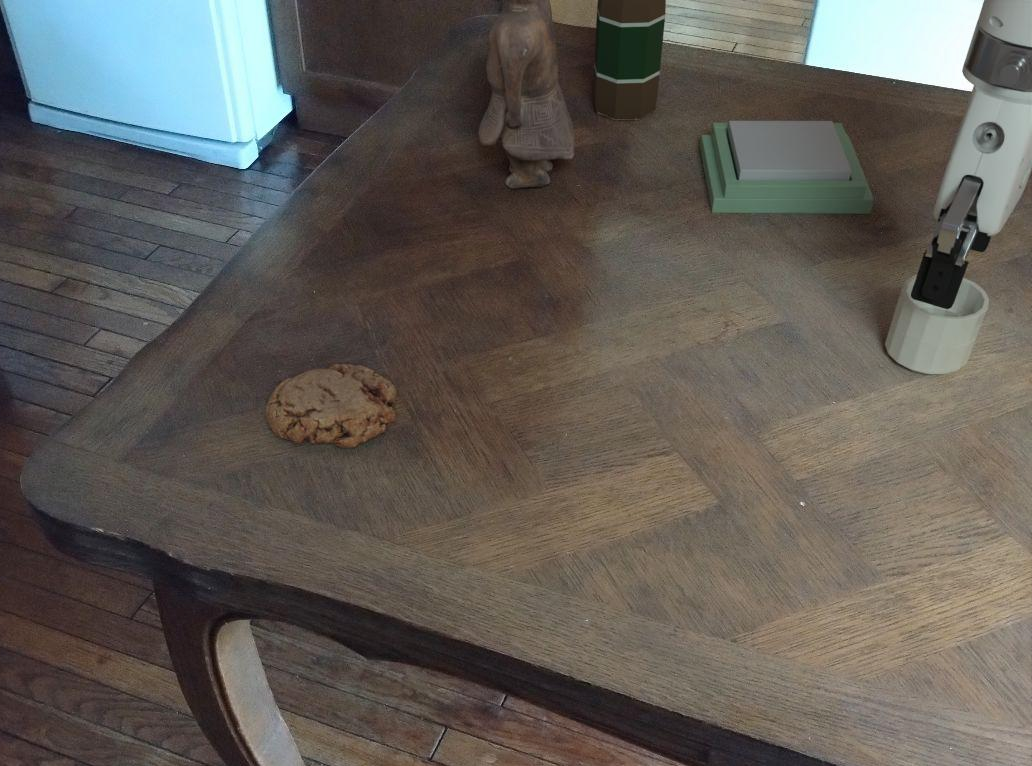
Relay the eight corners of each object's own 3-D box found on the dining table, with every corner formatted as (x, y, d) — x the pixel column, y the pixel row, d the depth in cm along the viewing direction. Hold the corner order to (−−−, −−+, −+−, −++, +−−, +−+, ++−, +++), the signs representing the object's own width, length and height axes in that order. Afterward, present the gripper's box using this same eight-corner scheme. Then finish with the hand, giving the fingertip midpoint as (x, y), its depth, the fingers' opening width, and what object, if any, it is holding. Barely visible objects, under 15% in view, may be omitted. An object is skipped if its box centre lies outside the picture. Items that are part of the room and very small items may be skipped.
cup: (955, 331, 94) (976, 272, 89) (975, 379, 89) (999, 319, 85) (876, 330, 94) (894, 271, 89) (893, 378, 89) (912, 318, 85)
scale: (845, 148, 117) (851, 122, 115) (870, 214, 107) (877, 186, 105) (699, 148, 118) (702, 122, 116) (711, 213, 108) (715, 185, 106)
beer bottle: (610, 128, 122) (626, -109, 104) (579, 101, 126) (589, -129, 109) (669, 114, 124) (694, -120, 106) (636, 88, 128) (655, -140, 111)
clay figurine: (490, 147, 119) (485, -104, 101) (579, 152, 118) (590, -102, 99) (471, 206, 110) (461, -58, 92) (567, 211, 109) (576, -55, 91)
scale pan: (829, 132, 114) (832, 120, 113) (848, 183, 107) (851, 170, 106) (726, 132, 115) (728, 120, 114) (738, 182, 107) (740, 170, 106)
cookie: (254, 399, 89) (248, 371, 87) (373, 366, 92) (370, 337, 89) (289, 473, 83) (283, 444, 80) (415, 434, 85) (413, 405, 83)
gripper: (1053, 116, 67) (966, 342, 79) (1108, 26, 77) (1023, 239, 89) (934, 89, 69) (867, 311, 82) (1002, 6, 79) (934, 214, 92)
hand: (948, 273), depth 85 cm, fingers open, 9 cm apart
